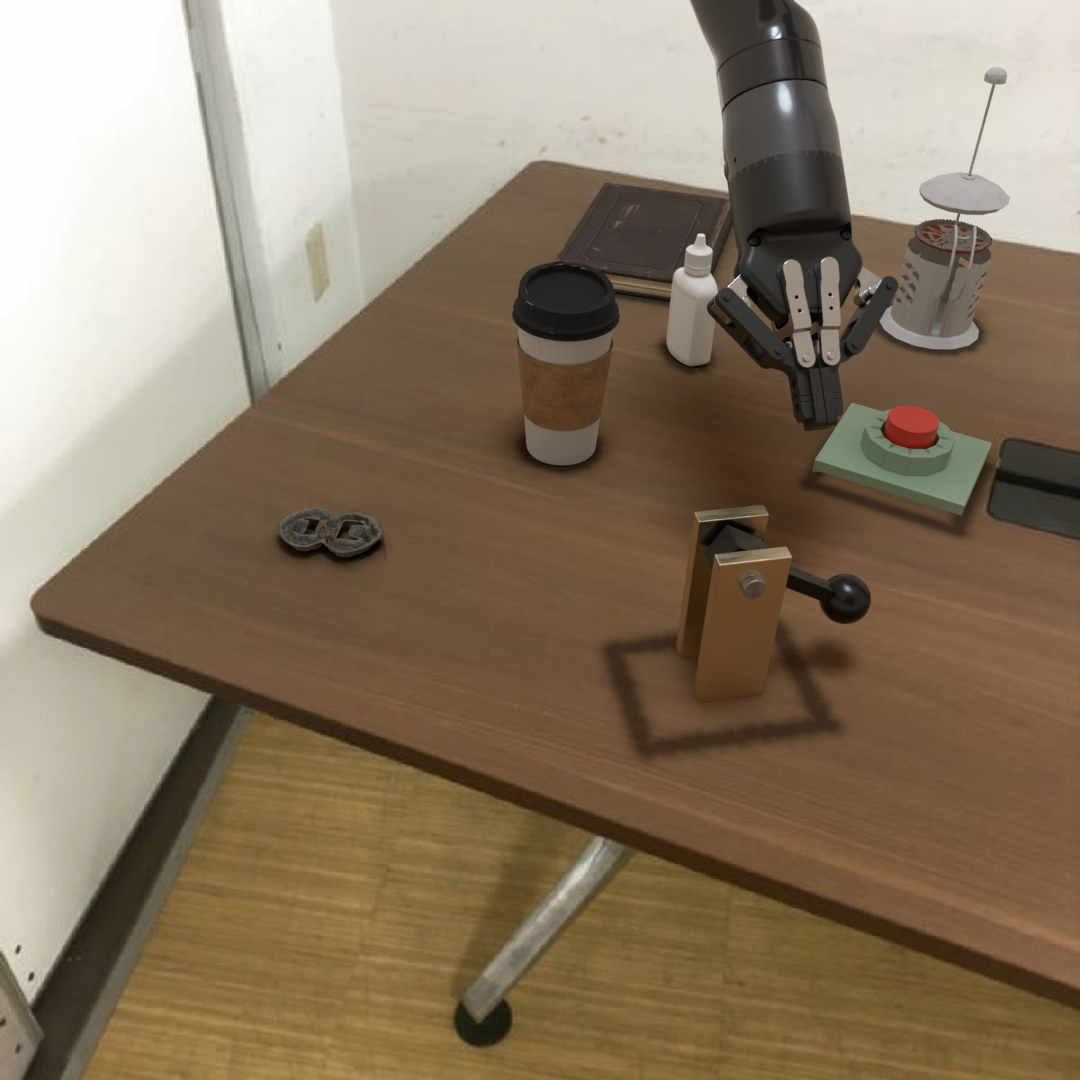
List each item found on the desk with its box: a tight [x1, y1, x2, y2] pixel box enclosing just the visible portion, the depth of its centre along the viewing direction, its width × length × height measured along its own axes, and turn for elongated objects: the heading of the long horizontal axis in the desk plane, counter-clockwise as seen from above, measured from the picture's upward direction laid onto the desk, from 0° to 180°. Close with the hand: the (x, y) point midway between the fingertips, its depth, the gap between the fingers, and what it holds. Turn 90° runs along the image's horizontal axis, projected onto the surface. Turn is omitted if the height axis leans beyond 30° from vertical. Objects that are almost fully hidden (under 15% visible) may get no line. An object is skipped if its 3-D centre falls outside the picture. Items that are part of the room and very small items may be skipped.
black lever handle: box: [704, 525, 872, 625], centre depth 69 cm, size 12×3×3 cm
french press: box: [879, 66, 1010, 350], centre depth 104 cm, size 10×12×25 cm
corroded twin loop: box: [276, 506, 383, 559], centre depth 84 cm, size 5×8×1 cm, turn 82°
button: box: [884, 405, 940, 449], centre depth 90 cm, size 4×4×2 cm
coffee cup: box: [511, 261, 621, 467], centre depth 90 cm, size 8×8×15 cm
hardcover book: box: [552, 182, 733, 302], centre depth 125 cm, size 16×23×2 cm
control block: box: [811, 402, 993, 516], centre depth 92 cm, size 12×10×4 cm
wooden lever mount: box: [675, 504, 793, 703], centre depth 70 cm, size 12×9×13 cm
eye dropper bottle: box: [665, 234, 719, 367], centre depth 104 cm, size 4×6×12 cm
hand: (821, 427), depth 72 cm, fingers closed
